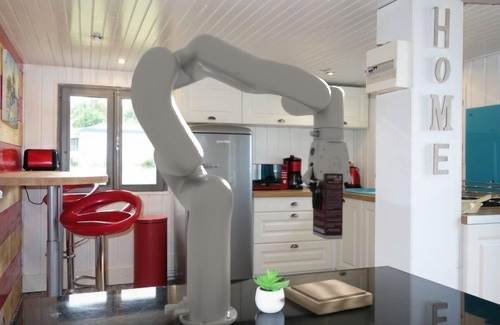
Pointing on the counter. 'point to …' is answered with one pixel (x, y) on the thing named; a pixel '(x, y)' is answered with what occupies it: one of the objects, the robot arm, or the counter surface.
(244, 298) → the counter surface
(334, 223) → the supplement box
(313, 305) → the oak stand
